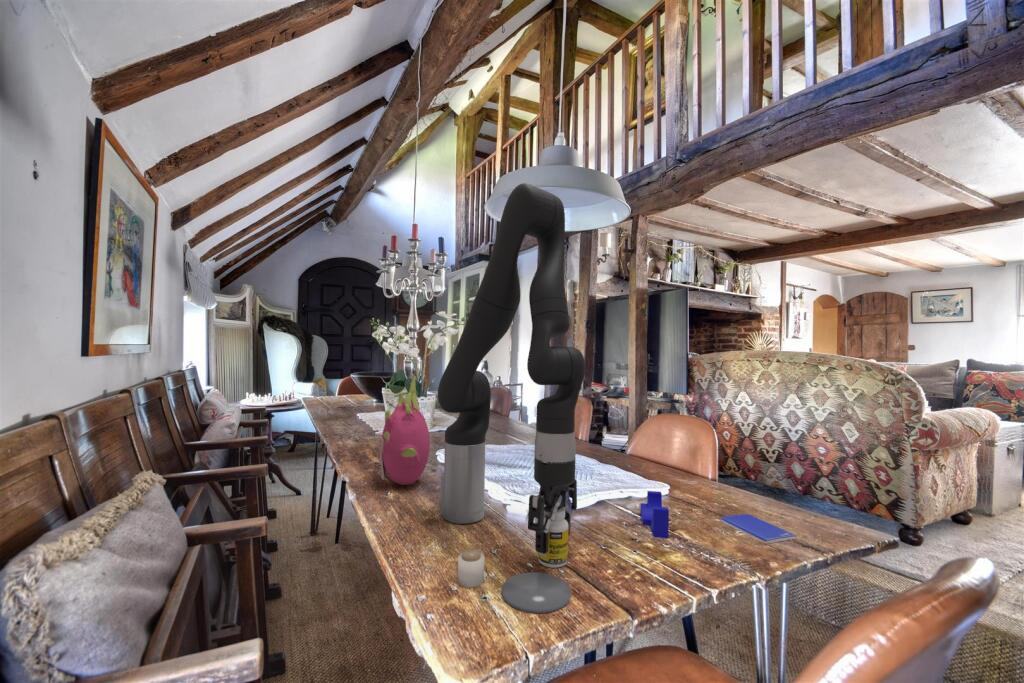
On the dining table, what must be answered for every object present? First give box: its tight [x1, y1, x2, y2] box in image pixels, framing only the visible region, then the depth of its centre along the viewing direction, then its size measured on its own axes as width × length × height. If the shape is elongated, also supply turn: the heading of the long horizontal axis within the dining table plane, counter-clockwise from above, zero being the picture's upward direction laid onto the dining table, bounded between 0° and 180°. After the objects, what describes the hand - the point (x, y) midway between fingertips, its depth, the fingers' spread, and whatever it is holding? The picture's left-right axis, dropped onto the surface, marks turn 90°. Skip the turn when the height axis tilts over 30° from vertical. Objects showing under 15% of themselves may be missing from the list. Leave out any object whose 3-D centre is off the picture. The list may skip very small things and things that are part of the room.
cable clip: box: [639, 490, 670, 539], centre depth 103 cm, size 12×4×6 cm, turn 170°
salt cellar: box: [457, 547, 485, 589], centre depth 79 cm, size 4×4×5 cm
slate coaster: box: [501, 571, 572, 614], centre depth 75 cm, size 11×11×1 cm
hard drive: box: [720, 513, 797, 544], centre depth 102 cm, size 2×8×12 cm
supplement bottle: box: [537, 507, 569, 569], centre depth 86 cm, size 5×5×10 cm
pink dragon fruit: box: [379, 375, 431, 486], centre depth 129 cm, size 18×14×30 cm
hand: (553, 543), depth 86 cm, fingers open, 8 cm apart
